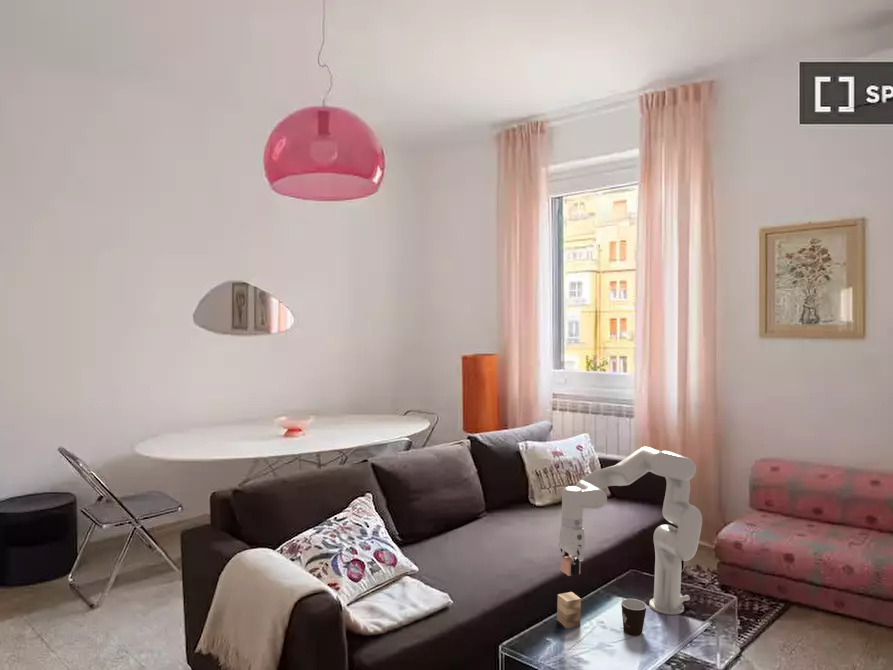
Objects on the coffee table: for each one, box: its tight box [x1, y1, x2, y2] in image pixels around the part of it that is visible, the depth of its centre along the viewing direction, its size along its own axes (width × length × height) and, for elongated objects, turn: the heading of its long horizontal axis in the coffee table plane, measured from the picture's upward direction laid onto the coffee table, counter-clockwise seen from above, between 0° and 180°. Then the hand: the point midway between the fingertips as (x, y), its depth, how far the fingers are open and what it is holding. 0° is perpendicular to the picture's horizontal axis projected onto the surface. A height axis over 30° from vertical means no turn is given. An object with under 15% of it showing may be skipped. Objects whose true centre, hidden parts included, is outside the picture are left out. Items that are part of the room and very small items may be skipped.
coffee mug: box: [620, 598, 648, 637], centre depth 238 cm, size 12×9×10 cm
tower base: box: [556, 608, 581, 629], centre depth 242 cm, size 6×6×5 cm
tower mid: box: [556, 591, 582, 615], centre depth 241 cm, size 6×6×5 cm
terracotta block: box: [560, 555, 582, 577], centre depth 240 cm, size 5×5×5 cm
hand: (570, 570), depth 240 cm, fingers closed on terracotta block, 5 cm apart
